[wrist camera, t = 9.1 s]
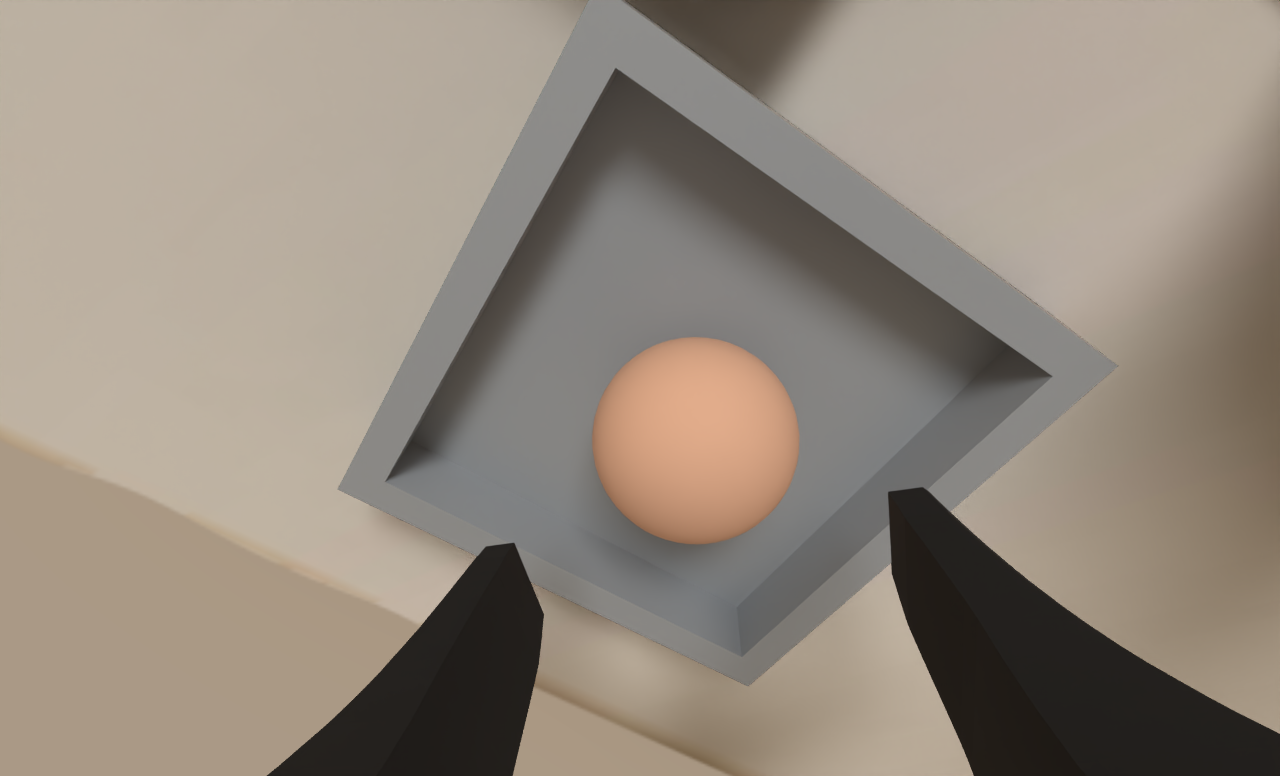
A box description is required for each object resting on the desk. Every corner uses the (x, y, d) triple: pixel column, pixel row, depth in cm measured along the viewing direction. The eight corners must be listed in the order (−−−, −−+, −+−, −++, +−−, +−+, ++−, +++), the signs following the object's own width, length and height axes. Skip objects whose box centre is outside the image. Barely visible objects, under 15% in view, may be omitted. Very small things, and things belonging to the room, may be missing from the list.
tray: (1056, 318, 18) (1118, 365, 15) (740, 617, 24) (748, 686, 21) (610, -10, 14) (597, -17, 12) (378, 433, 20) (337, 489, 18)
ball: (821, 372, 18) (869, 487, 13) (707, 489, 20) (716, 621, 15) (674, 268, 16) (673, 356, 12) (568, 404, 19) (535, 521, 14)
